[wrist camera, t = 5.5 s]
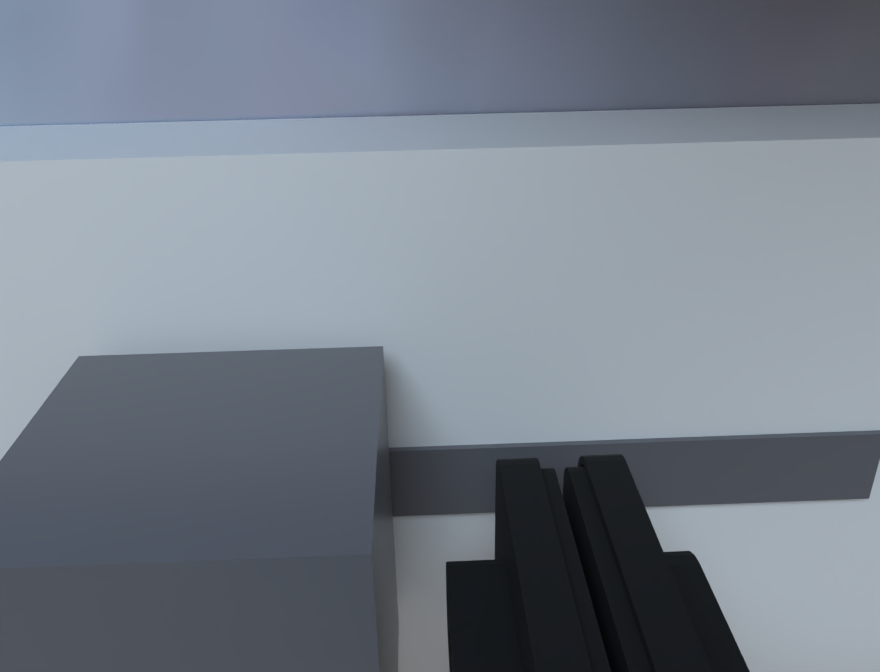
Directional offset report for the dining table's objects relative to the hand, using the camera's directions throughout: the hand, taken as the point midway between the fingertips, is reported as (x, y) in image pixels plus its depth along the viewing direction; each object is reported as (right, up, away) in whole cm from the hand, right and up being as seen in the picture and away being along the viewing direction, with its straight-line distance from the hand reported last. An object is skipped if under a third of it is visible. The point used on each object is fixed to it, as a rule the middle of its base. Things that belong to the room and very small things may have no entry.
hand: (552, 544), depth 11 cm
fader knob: (-4, 0, +1) cm, 4 cm away
